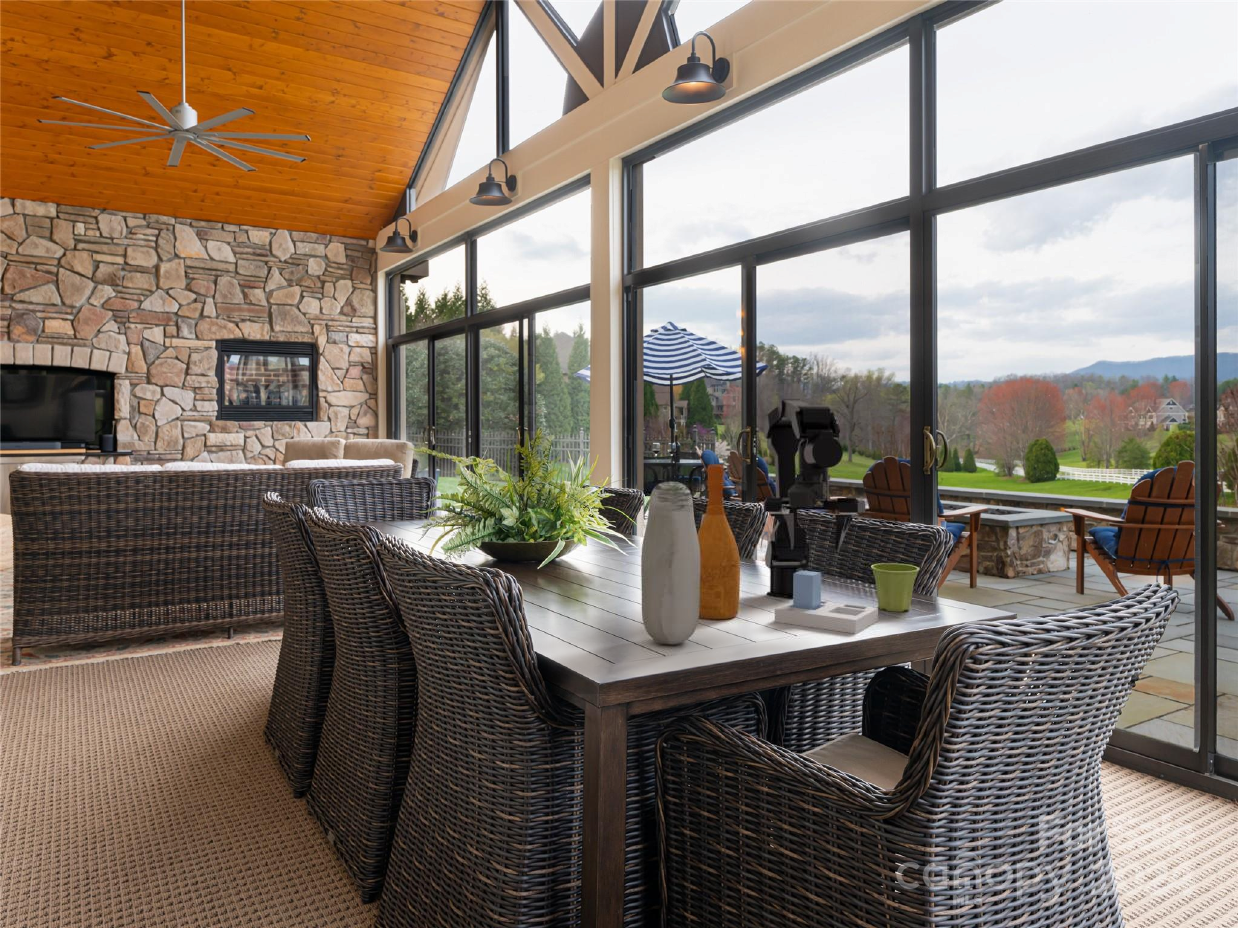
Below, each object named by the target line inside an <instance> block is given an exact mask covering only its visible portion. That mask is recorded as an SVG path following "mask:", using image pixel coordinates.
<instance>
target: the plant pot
mask: <svg viewBox="0 0 1238 928" xmlns="http://www.w3.org/2000/svg"><path fill="white" fill-rule="evenodd" d="M870 569H871V570H872V572H873V576H874V581H875V587H876V595H877V596H876V597H877V603H878V609H880V610H886V611H887V612H898V613H901V612H904V611H910V609H911V605H912V604H911V602H912V597H913V590H914V584H915V579H916V578H917V574H918V572H919V571H920V567H918V566H915V565H911V564H906V563H892V562H891V563H889V562H888V563H887V562H886V563H885V562H884V563H874V564H872V565H871V566H870Z"/></svg>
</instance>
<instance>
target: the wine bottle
mask: <svg viewBox="0 0 1238 928" xmlns="http://www.w3.org/2000/svg"><path fill="white" fill-rule="evenodd" d="M706 469H707V470H706V471H707V483H706V487H707V488H708V497H707V507H706V509H705V510H706V512H705V514H702V515H701V522H700V527H699V529H698V531H697V536H698V541H699V547H700V598H699V618H700V619H706V620H727V619H733V618H734V617H736V616H737V615H738V613H739V608H740V589H741V588H740V587H741V586H740V585H741V559H740V552H739V549H738V546H737V542H736V538H735V536H734V534H733V531H732V529H731V527H730V524H729V522H728V519H727V516H726V512H725V509H724V502H723V488H724V487H725V481H724V477H725V467H724V466H723V465H722V464H719V463H714V464H713V463H711V464H709V465H708V466H707V468H706Z"/></svg>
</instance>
